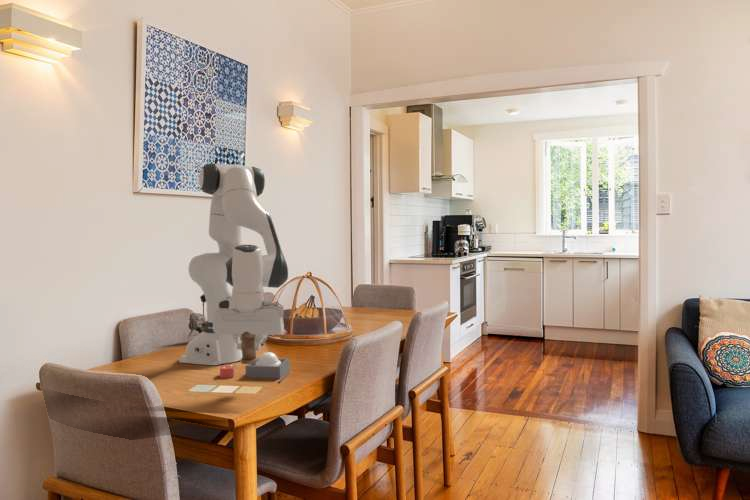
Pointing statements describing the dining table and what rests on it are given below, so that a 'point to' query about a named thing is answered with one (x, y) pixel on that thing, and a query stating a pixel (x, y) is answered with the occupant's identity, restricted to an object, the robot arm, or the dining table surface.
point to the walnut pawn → (248, 349)
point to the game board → (225, 389)
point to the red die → (227, 371)
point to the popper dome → (268, 360)
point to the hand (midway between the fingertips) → (249, 349)
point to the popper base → (269, 370)
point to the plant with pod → (197, 319)
